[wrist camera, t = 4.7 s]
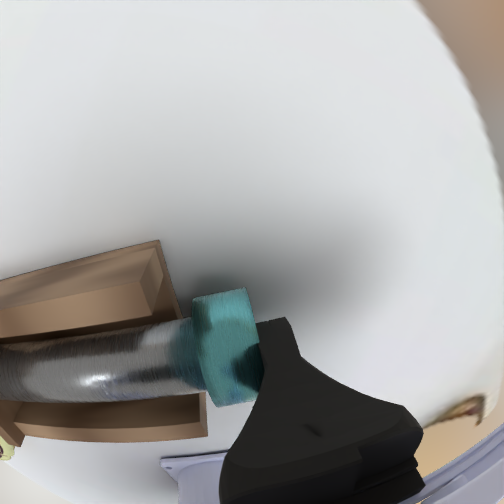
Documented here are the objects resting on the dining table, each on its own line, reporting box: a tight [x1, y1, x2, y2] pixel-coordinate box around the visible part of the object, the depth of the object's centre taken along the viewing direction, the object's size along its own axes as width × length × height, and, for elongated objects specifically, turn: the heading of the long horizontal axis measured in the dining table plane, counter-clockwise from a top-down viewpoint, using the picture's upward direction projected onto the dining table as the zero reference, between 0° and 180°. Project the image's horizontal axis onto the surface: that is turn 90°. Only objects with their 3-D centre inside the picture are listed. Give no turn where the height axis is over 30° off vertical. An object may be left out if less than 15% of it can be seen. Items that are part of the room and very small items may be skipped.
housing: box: [0, 240, 208, 447], centre depth 11 cm, size 13×8×5 cm, turn 99°
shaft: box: [0, 287, 265, 407], centre depth 10 cm, size 14×4×4 cm, turn 99°
